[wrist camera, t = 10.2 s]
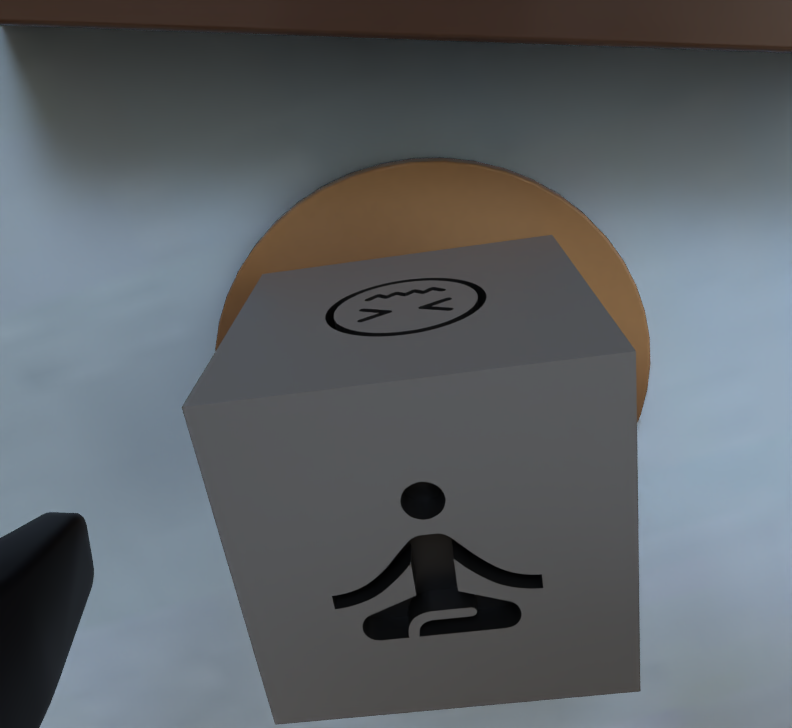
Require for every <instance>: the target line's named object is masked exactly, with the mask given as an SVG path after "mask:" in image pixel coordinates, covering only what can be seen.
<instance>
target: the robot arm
mask: <svg viewBox="0 0 792 728" xmlns="http://www.w3.org/2000/svg"><path fill="white" fill-rule="evenodd" d="M93 578H94V566H93V560H92V554H91V548H90V542H89V536H88V531H87V525H86V522H85V520H84V518H83V517H82V516H81V515H80V514H78V513H58V512H49V513H45V514H43V515H41V516H39V517H38V518H36V519H34V520H32V521H30V522H29V523H27V524H25V525H23V526H21V527H20V528H18V529H16V530H14V531H12V532H11V533H9V534H7V535H5V536H3V537H2V538H0V728H39V727H40V725H41V723H42V721H43V719H44V716H45V714H46V712H47V710H48V707H49V705H50V703H51V700H52V698H53V695H54V692H55V690H56V687H57V685H58V682H59V679H60V676H61V673H62V670H63V668H64V665H65V662H66V659H67V656H68V653H69V651H70V648H71V645H72V642H73V639H74V636H75V633H76V631H77V628H78V625H79V622H80V619H81V616H82V614H83V611H84V608H85V605H86V602H87V599H88V597H89V594H90V591H91V588H92V584H93Z"/></svg>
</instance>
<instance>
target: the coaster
mask: <svg viewBox="0 0 792 728" xmlns="http://www.w3.org/2000/svg"><path fill="white" fill-rule="evenodd" d="M547 235H553V237H554V238H555V239H556V241H557V242H558V243H559V245H560V246H561V248H562V249H563V250H564V252H565V253H566V255H567V256H568V257H569V259H570V260H571V262H572V263H573V264H574V266H575V267H576V268H577V270H578V271H579V273H580V274H581V275H582V277H583V278H584V280H585V281H586V282H587V284H588V285H589V287H590V288H591V289H592V291H593V292H594V293H595V295H596V296H597V298H598V299H599V300H600V302H601V303H602V305H603V306H604V307H605V309H606V310H607V312H608V313H609V314H610V316H611V317H612V318H613V320H614V321H615V323H616V324H617V325H618V327H619V328H620V330H621V331H622V332H623V334H624V335H625V337H626V338H627V339H628V341H629V342H630V343H631V345H632V346H633V348H634V349H635V350H636V390H637V422H638V420H639V417H640V415H641V411H642V407H643V404H644V400H645V396H646V392H647V387H648V379H649V370H650V337H649V332H648V326H647V320H646V315H645V310H644V307H643V304H642V301H641V298H640V295H639V292H638V289H637V286H636V284H635V282H634V280H633V278H632V276H631V274H630V272H629V270H628V268H627V266H626V264H625V263H624V261H623V259H622V258H621V256H620V255H619V254H618V252H617V251H616V249H615V248H614V247H613V245H612V244H611V242H610V241H609V240H608V238H607V237H606V236H605V235H604V234H603V233H602V232H601V231H600V230H599V229H598V228H597V227H596V226H595V225H594V224H593V222H592V221H591V220H590V219H589V218H588V217H587V216H586V215H585V214H584V213H583V212H582V211H580V210H579V209H578V208H576V207H575V206H574V205H573V204H571V203H570V202H569V201H567V200H566V199H565V198H563V197H562V196H561V195H560V194H558V193H556V192H554V191H553V190H551V189H549V188H547V187H546V186H544V185H542V184H540V183H538V182H537V181H535V180H533V179H531V178H528V177H526V176H523V175H521V174H518V173H516V172H513V171H510V170H508V169H505V168H502V167H498V166H494V165H489V164H485V163H481V162H477V161H471V160H461V159H452V158H416V159H407V160H401V161H395V162H389V163H383V164H379V165H376V166H372V167H369V168H366V169H363V170H359V171H356V172H353V173H350V174H348V175H346V176H344V177H342V178H340V179H337V180H335V181H333V182H331V183H329V184H327V185H324V186H323V187H321V188H320V189H318V190H316V191H315V192H313V193H312V194H310V195H309V196H307V197H306V198H304V199H303V200H301V201H299V202H298V203H297V204H296V205H294V206H293V207H292V208H291V209H290V210H289V211H288V212H286V213H285V214H284V215H283V216H282V217H281V218H279V219H278V220H277V221H276V222H275V223H274V224H273V225H272V227H271V228H270V229H269V230H268V231H267V232H266V233H265V235H264V236H263V237H262V238H261V239H260V240H259V241H258V243H257V244H256V245H255V247H254V248H253V250H252V251H251V253H250V254H249V256H248V257H247V259H246V260H245V262H244V263H243V265H242V267H241V268H240V270H239V271H238V273H237V275H236V278H235V280H234V282H233V284H232V286H231V288H230V291H229V293H228V295H227V297H226V301H225V304H224V308H223V311H222V314H221V318H220V321H219V327H218V334H217V341H216V348H215V352H216V350H217V348H218V347H219V345H220V343H221V342H222V340H223V339H224V337H225V335H226V334H227V332H228V330H229V329H230V327H231V325H232V324H233V322H234V320H235V319H236V317H237V315H238V314H239V312H240V310H241V309H242V307H243V306H244V304H245V302H246V301H247V299H248V297H249V296H250V294H251V292H252V291H253V289H254V287H255V286H256V284H257V282H258V281H259V279H260V277H261V276H262V274H267V273H274V272H282V271H289V270H297V269H304V268H311V267H319V266H326V265H333V264H341V263H348V262H355V261H363V260H370V259H377V258H385V257H392V256H400V255H407V254H414V253H422V252H429V251H436V250H444V249H451V248H458V247H466V246H473V245H480V244H488V243H495V242H503V241H510V240H517V239H525V238H532V237H539V236H547Z"/></svg>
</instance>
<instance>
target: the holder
mask: <svg viewBox="0 0 792 728" xmlns="http://www.w3.org/2000/svg"><path fill="white" fill-rule="evenodd" d="M0 25H11V26H39V27H68V28H96V29H125V30H153V31H181V32H210V33H238V34H267V35H295V36H324V37H352V38H380V39H409V40H437V41H466V42H494V43H523V44H551V45H579V46H608V47H636V48H665V49H693V50H722V51H750V52H778V53H792V0H0Z"/></svg>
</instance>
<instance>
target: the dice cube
mask: <svg viewBox="0 0 792 728" xmlns="http://www.w3.org/2000/svg"><path fill="white" fill-rule="evenodd" d="M182 410H183V413H184V416H185V420H186V423H187V427H188V430H189V433H190V437H191V440H192V444H193V447H194V450H195V454H196V457H197V461H198V464H199V467H200V471H201V474H202V478H203V481H204V484H205V488H206V491H207V495H208V498H209V501H210V505H211V508H212V512H213V515H214V518H215V522H216V525H217V528H218V532H219V535H220V539H221V542H222V545H223V549H224V552H225V556H226V559H227V562H228V566H229V569H230V573H231V576H232V579H233V583H234V586H235V590H236V593H237V596H238V600H239V603H240V607H241V610H242V613H243V617H244V620H245V624H246V627H247V630H248V634H249V637H250V641H251V644H252V647H253V651H254V654H255V658H256V661H257V664H258V668H259V671H260V675H261V678H262V681H263V685H264V688H265V692H266V695H267V698H268V702H269V705H270V708H271V712H272V715H273V719H274V722H275V725H276V724H287V723H298V722H309V721H320V720H331V719H342V718H353V717H364V716H375V715H386V714H397V713H408V712H419V711H430V710H440V709H451V708H462V707H473V706H484V705H495V704H506V703H517V702H528V701H539V700H550V699H561V698H572V697H583V696H594V695H605V694H616V693H627V692H638V691H640V631H639V551H638V470H637V390H636V350H635V349H634V348H633V346H632V345H631V343H630V342H629V341H628V339H627V338H626V337H625V335H624V334H623V332H622V331H621V330H620V328H619V327H618V325H617V324H616V323H615V321H614V320H613V318H612V317H611V316H610V314H609V313H608V312H607V310H606V309H605V307H604V306H603V305H602V303H601V302H600V300H599V299H598V298H597V296H596V295H595V293H594V292H593V291H592V289H591V288H590V287H589V285H588V284H587V282H586V281H585V280H584V278H583V277H582V275H581V274H580V273H579V271H578V270H577V268H576V267H575V266H574V264H573V263H572V262H571V260H570V259H569V257H568V256H567V255H566V253H565V252H564V250H563V249H562V248H561V246H560V245H559V243H558V242H557V241H556V239H555V238H554V237H553V235H547V236H539V237H532V238H525V239H517V240H510V241H503V242H495V243H488V244H480V245H473V246H466V247H458V248H451V249H444V250H436V251H429V252H422V253H414V254H407V255H400V256H392V257H385V258H377V259H370V260H363V261H355V262H348V263H341V264H333V265H326V266H319V267H311V268H304V269H297V270H289V271H282V272H274V273H267V274H262V276H261V277H260V279H259V281H258V282H257V284H256V286H255V287H254V289H253V291H252V292H251V294H250V296H249V297H248V299H247V301H246V302H245V304H244V306H243V307H242V309H241V310H240V312H239V314H238V315H237V317H236V319H235V320H234V322H233V324H232V325H231V327H230V329H229V330H228V332H227V334H226V335H225V337H224V339H223V340H222V342H221V343H220V345H219V347H218V348H217V350H216V352H215V353H214V355H213V357H212V358H211V360H210V362H209V363H208V365H207V367H206V368H205V370H204V372H203V373H202V375H201V377H200V378H199V380H198V381H197V383H196V385H195V386H194V388H193V390H192V391H191V393H190V395H189V396H188V398H187V400H186V401H185V403H184V405H183V406H182Z"/></svg>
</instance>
